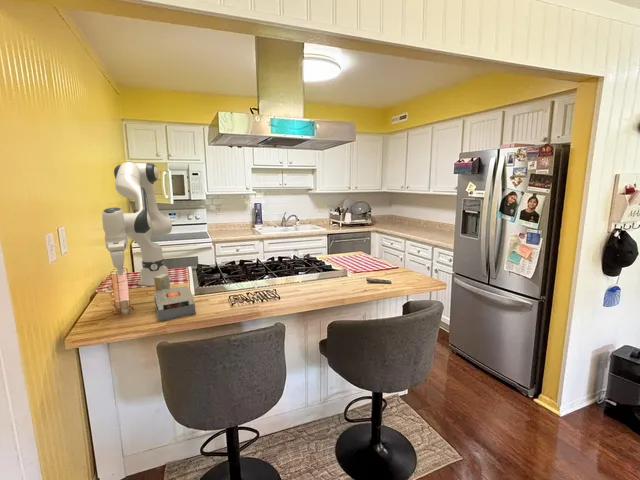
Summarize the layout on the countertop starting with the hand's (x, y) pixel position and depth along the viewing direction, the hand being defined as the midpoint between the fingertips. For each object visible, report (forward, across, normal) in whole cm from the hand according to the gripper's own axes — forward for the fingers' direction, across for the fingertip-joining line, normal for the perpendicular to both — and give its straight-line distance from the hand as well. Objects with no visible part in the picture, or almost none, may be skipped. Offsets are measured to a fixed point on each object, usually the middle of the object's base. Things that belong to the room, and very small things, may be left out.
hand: (121, 272), depth 159 cm
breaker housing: (+21, +6, +21) cm, 30 cm away
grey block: (+21, 0, 0) cm, 21 cm away
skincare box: (+21, -16, +17) cm, 31 cm away
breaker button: (+16, +6, +21) cm, 27 cm away
